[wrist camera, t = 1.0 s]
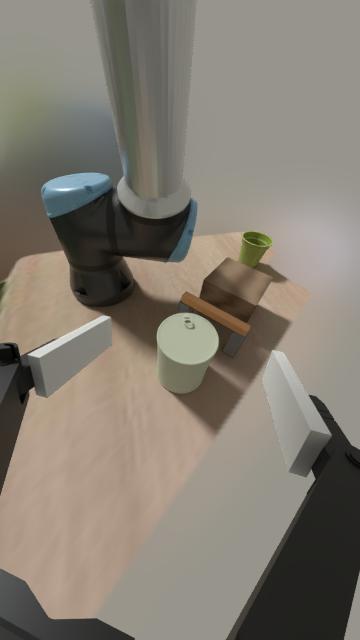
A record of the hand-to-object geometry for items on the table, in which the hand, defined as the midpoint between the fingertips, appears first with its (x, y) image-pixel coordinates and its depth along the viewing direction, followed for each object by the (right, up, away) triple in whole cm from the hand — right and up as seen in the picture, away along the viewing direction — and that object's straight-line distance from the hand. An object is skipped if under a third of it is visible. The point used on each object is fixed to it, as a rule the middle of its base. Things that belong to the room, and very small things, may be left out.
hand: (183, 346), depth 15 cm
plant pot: (+22, +21, +47) cm, 57 cm away
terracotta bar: (+6, +3, +21) cm, 22 cm away
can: (0, -8, +21) cm, 22 cm away
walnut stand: (+12, +6, +33) cm, 36 cm away
